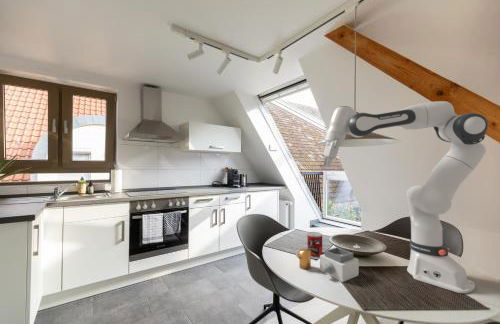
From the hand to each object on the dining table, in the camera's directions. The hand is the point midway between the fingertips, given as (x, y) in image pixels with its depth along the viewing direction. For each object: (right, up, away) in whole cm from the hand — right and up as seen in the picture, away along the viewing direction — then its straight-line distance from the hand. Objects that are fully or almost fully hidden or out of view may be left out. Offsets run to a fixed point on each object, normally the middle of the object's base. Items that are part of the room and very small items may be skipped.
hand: (326, 166), depth 115 cm
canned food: (-3, -48, +11) cm, 50 cm away
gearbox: (0, -48, -12) cm, 49 cm away
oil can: (-13, -48, -5) cm, 50 cm away
